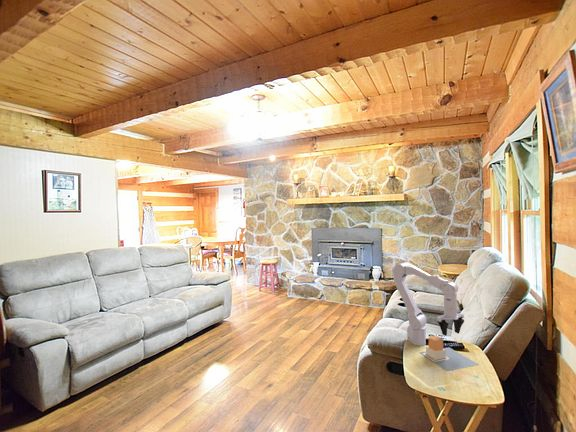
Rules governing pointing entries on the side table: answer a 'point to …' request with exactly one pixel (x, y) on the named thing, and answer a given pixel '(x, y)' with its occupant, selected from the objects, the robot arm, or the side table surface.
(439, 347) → the orange block
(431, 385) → the side table surface
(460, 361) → the board
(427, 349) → the base block
